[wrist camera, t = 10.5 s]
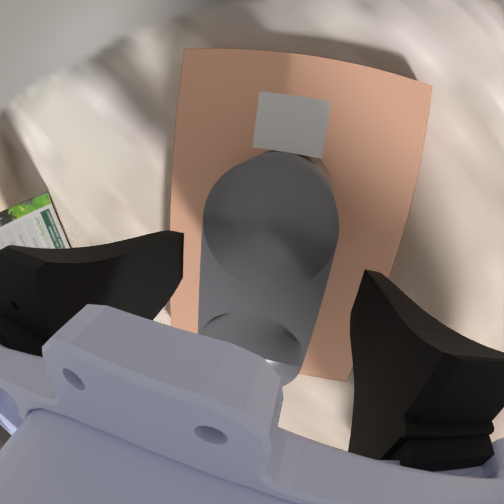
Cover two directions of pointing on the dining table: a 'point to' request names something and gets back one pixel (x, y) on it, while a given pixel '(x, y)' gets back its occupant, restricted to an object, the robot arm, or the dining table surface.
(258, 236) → the block
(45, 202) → the syrup box
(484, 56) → the dining table surface
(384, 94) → the terracotta tile
